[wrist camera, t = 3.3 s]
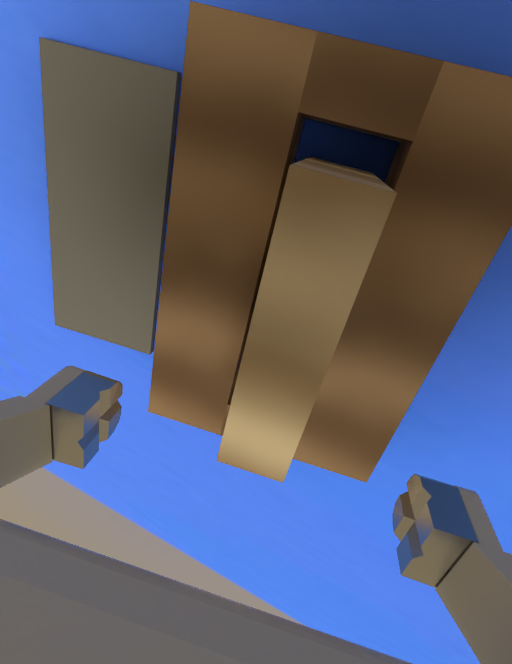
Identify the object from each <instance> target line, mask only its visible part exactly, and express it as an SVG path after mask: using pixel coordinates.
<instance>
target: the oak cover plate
mask: <svg viewBox="0 0 512 664" xmlns="http://www.w3.org/2000/svg"><path fill="white" fill-rule="evenodd" d="M396 195H397V193H396V192H395V191H394V190H392V189H391V188H390V187H389V186H388V185H386V184H385V183H384V182H383V181H381V180H380V179H379V178H378V177H377V176H375V175H374V174H373V173H372V172H368V171H365V170H361V169H357V168H353V167H349V166H345V165H342V164H338V163H334V162H330V161H326V160H323V159H319V158H315V157H309V158H306V159H304V160H301V161H298V162H296V163H293V164H290V166H289V170H288V174H287V178H286V182H285V186H284V190H283V194H282V198H281V202H280V206H279V210H278V214H277V218H276V222H275V226H274V230H273V234H272V238H271V243H270V247H269V251H268V255H267V259H266V263H265V267H264V271H263V275H262V279H261V283H260V287H259V291H258V295H257V299H256V303H255V307H254V311H253V315H252V319H251V324H250V328H249V332H248V336H247V340H246V344H245V348H244V352H243V356H242V360H241V364H240V368H239V372H238V376H237V380H236V384H235V388H234V392H233V396H232V401H231V405H230V409H229V413H228V417H227V421H226V425H225V429H224V433H223V437H222V441H221V445H220V449H219V453H218V457H217V461H219V462H222V463H225V464H228V465H231V466H234V467H237V468H240V469H243V470H246V471H249V472H252V473H255V474H258V475H261V476H264V477H267V478H270V479H273V480H277V481H280V482H284V479H285V477H286V474H287V471H288V469H289V466H290V464H291V461H292V459H293V456H294V454H295V451H296V449H297V446H298V443H299V441H300V438H301V436H302V433H303V431H304V428H305V426H306V423H307V421H308V418H309V416H310V413H311V410H312V408H313V405H314V403H315V400H316V398H317V395H318V393H319V390H320V388H321V385H322V383H323V380H324V377H325V375H326V372H327V370H328V367H329V365H330V362H331V360H332V357H333V355H334V352H335V350H336V347H337V344H338V342H339V339H340V337H341V334H342V332H343V329H344V327H345V324H346V322H347V319H348V317H349V314H350V311H351V309H352V306H353V304H354V301H355V299H356V296H357V294H358V291H359V289H360V286H361V284H362V281H363V278H364V276H365V273H366V271H367V268H368V266H369V263H370V261H371V258H372V256H373V253H374V250H375V248H376V245H377V243H378V240H379V238H380V235H381V233H382V230H383V228H384V225H385V223H386V220H387V217H388V215H389V212H390V210H391V207H392V205H393V202H394V200H395V197H396Z"/></svg>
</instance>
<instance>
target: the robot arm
mask: <svg viewBox="0 0 512 664" xmlns="http://www.w3.org/2000/svg"><path fill="white" fill-rule="evenodd" d="M121 395H122V384H121V383H120V382H119V381H116V380H113V379H110V378H107V377H104V376H101V375H98V374H96V373H93V372H90V371H85V370H83V369H80V368H77V367H74V366H67V367H65V368H63V369H62V370H61V371H59V372H58V373H57V374H55V375H54V376H53V377H51V378H50V379H49V380H48V381H46V382H45V383H44V384H42V385H41V386H40V387H38V388H37V389H36V390H34V391H33V392H32V393H30V394H29V395H28V396H26V397H22V396H17V397H14V398H10V399H6V400H2V401H0V488H1V487H3V486H5V485H7V484H9V483H11V482H13V481H15V480H17V479H19V478H21V477H23V476H25V475H27V474H29V473H31V472H33V471H35V470H36V469H39V468H41V467H43V466H45V465H47V464H49V463H51V462H52V460H55V461H58V462H62V463H65V464H68V465H72V466H75V467H78V468H82V469H84V468H85V467H86V465H87V464H88V463H89V462H90V460H91V459H92V458H93V457H94V456H95V454H96V453H97V452H98V451H99V442H102V441H104V440H107V439H108V438H109V437H110V436H111V435H112V433H113V432H114V430H115V428H116V426H117V424H118V422H119V419H120V415H121V405H120V404H119V402H118V400H117V399H118V398H119V397H120V396H121ZM407 488H408V492H406V493H404V494H401V495H400V496H399V498H398V499H397V501H396V503H395V506H394V511H393V530H394V533H395V534H396V536H397V537H398V538H399V540H400V541H401V542H400V544H399V546H398V547H397V555H398V560H399V566H400V572H401V575H402V576H405V577H408V578H410V579H413V580H416V581H419V582H421V583H424V584H427V585H430V586H432V587H435V588H436V589H435V590H436V591H437V593H438V595H439V596H440V598H441V600H442V601H443V603H444V604H445V606H446V608H447V609H448V611H449V613H450V614H451V616H452V618H453V619H454V621H455V622H456V624H457V626H458V627H459V629H460V631H461V632H462V634H463V636H464V637H465V639H466V640H467V642H468V644H469V645H470V647H471V649H472V650H473V652H474V653H475V655H476V657H477V658H478V660H479V662H480V663H481V664H512V555H511V554H509V553H506V552H503V550H502V547H501V545H500V543H499V541H498V538H497V536H496V534H495V531H494V529H493V527H492V525H491V522H490V520H489V518H488V515H487V513H486V511H485V509H484V506H483V504H482V502H481V499H480V497H479V495H478V494H477V493H476V492H475V491H472V490H468V489H465V488H462V487H458V486H453V485H450V484H447V483H443V482H440V481H437V480H434V479H430V478H427V477H424V476H420V475H417V474H414V475H413V476H411V477H410V479H409V481H408V482H407ZM0 664H412V663H409V662H406V661H404V660H401V659H398V658H395V657H392V656H389V655H387V654H384V653H381V652H378V651H375V650H372V649H369V648H367V647H364V646H361V645H358V644H355V643H352V642H349V641H347V640H344V639H341V638H338V637H335V636H332V635H329V634H327V633H324V632H321V631H318V630H315V629H312V628H309V627H307V626H304V625H301V624H298V623H295V622H292V621H289V620H287V619H284V618H281V617H278V616H275V615H272V614H269V613H267V612H264V611H261V610H258V609H255V608H252V607H249V606H247V605H244V604H241V603H238V602H235V601H232V600H229V599H227V598H224V597H221V596H218V595H215V594H212V593H210V592H207V591H204V590H201V589H198V588H195V587H193V586H190V585H187V584H184V583H181V582H178V581H176V580H173V579H170V578H167V577H164V576H161V575H159V574H156V573H153V572H150V571H147V570H144V569H141V568H139V567H135V566H133V565H130V564H127V563H124V562H121V561H119V560H116V559H113V558H110V557H107V556H105V555H102V554H99V553H96V552H93V551H90V550H87V549H84V548H82V547H79V546H76V545H73V544H70V543H67V542H65V541H62V540H59V539H56V538H53V537H50V536H48V535H45V534H42V533H39V532H36V531H33V530H31V529H28V528H24V527H22V526H19V525H16V524H13V523H11V522H8V521H5V520H2V519H0Z"/></svg>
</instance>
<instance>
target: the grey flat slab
mask: <svg viewBox="0 0 512 664" xmlns="http://www.w3.org/2000/svg"><path fill="white" fill-rule="evenodd" d="M39 41H40V59H41V78H42V96H43V114H44V132H45V150H46V169H47V187H48V205H49V223H50V241H51V259H52V278H53V296H54V314H55V325H57V326H60V327H63V328H67V329H70V330H73V331H76V332H79V333H83V334H86V335H89V336H92V337H95V338H99V339H102V340H105V341H108V342H111V343H115V344H118V345H121V346H124V347H127V348H131V349H134V350H137V351H140V352H143V353H147V354H151V353H152V352H153V350H154V340H155V330H156V320H157V310H158V300H159V290H160V280H161V270H162V260H163V251H164V241H165V231H166V221H167V211H168V201H169V191H170V181H171V171H172V162H173V152H174V142H175V132H176V122H177V112H178V102H179V92H180V82H181V73H179V72H176V71H172V70H168V69H164V68H160V67H156V66H152V65H148V64H144V63H140V62H136V61H132V60H128V59H124V58H120V57H116V56H112V55H108V54H104V53H100V52H96V51H92V50H88V49H84V48H80V47H77V46H73V45H69V44H65V43H61V42H57V41H53V40H49V39H45V38H41V37H39Z"/></svg>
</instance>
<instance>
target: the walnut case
mask: <svg viewBox="0 0 512 664" xmlns="http://www.w3.org/2000/svg"><path fill="white" fill-rule="evenodd" d="M305 118H307V119H311V120H315V121H319V122H323V123H327V124H331V125H335V126H339V127H343V128H346V129H350V130H354V131H358V132H362V133H366V134H370V135H374V136H378V137H382V138H386V139H390V140H394V141H397V142H400V143H399V145H398V148H397V151H396V153H395V156H394V159H393V161H392V164H391V167H390V169H389V172H388V175H387V177H386V180H385V184H386V185H388V186H389V187H390V188H391V189H392V190H394V191H395V192H396V193H397V195H396V197H395V200H394V202H393V205H392V207H391V210H390V212H389V215H388V217H387V220H386V223H385V225H384V228H383V230H382V233H381V235H380V238H379V240H378V243H377V245H376V248H375V250H374V253H373V256H372V258H371V261H370V263H369V266H368V268H367V271H366V273H365V276H364V278H363V281H362V284H361V286H360V289H359V291H358V294H357V296H356V299H355V301H354V304H353V306H352V309H351V311H350V314H349V317H348V319H347V322H346V324H345V327H344V329H343V332H342V334H341V337H340V339H339V342H338V344H337V347H336V350H335V352H334V355H333V357H332V360H331V362H330V365H329V367H328V370H327V372H326V375H325V377H324V380H323V383H322V385H321V388H320V390H319V393H318V395H317V398H316V400H315V403H314V405H313V408H312V410H311V413H310V416H309V418H308V421H307V423H306V426H305V428H304V431H303V433H302V436H301V438H300V441H299V443H298V446H297V449H296V451H295V454H294V456H293V459H296V460H299V461H302V462H305V463H308V464H311V465H314V466H317V467H320V468H323V469H326V470H329V471H333V472H336V473H339V474H342V475H345V476H348V477H351V478H354V479H357V480H360V481H363V482H367V481H368V479H369V477H370V475H371V473H372V472H373V470H374V468H375V466H376V465H377V463H378V461H379V459H380V457H381V456H382V454H383V452H384V450H385V449H386V447H387V445H388V443H389V442H390V440H391V438H392V436H393V434H394V433H395V431H396V429H397V427H398V426H399V424H400V422H401V420H402V418H403V417H404V415H405V413H406V411H407V410H408V408H409V406H410V404H411V403H412V401H413V399H414V397H415V395H416V394H417V392H418V390H419V388H420V387H421V385H422V383H423V381H424V380H425V378H426V376H427V374H428V372H429V371H430V369H431V367H432V365H433V364H434V362H435V360H436V358H437V356H438V355H439V353H440V351H441V349H442V348H443V346H444V344H445V342H446V341H447V339H448V337H449V335H450V333H451V332H452V330H453V328H454V326H455V325H456V323H457V321H458V319H459V317H460V316H461V314H462V312H463V310H464V309H465V307H466V305H467V303H468V302H469V300H470V298H471V296H472V294H473V293H474V291H475V289H476V287H477V286H478V284H479V282H480V280H481V278H482V277H483V275H484V273H485V271H486V270H487V268H488V266H489V264H490V263H491V261H492V259H493V257H494V255H495V254H496V252H497V250H498V248H499V247H500V245H501V243H502V241H503V239H504V238H505V236H506V234H507V232H508V231H509V229H510V227H511V225H512V77H510V76H505V75H501V74H497V73H493V72H488V71H484V70H480V69H476V68H472V67H467V66H463V65H459V64H455V63H450V62H446V61H442V60H438V59H433V58H429V57H425V56H421V55H417V54H412V53H408V52H404V51H400V50H395V49H391V48H387V47H383V46H379V45H374V44H370V43H366V42H362V41H357V40H353V39H349V38H345V37H340V36H336V35H332V34H328V33H324V32H319V31H315V30H311V29H307V28H302V27H298V26H294V25H290V24H285V23H281V22H277V21H273V20H269V19H264V18H260V17H256V16H252V15H247V14H243V13H239V12H235V11H231V10H226V9H222V8H218V7H214V6H209V5H205V4H201V3H197V2H192V1H190V10H189V20H188V29H187V39H186V49H185V59H184V68H183V78H182V88H181V97H180V107H179V117H178V127H177V136H176V146H175V156H174V166H173V175H172V185H171V195H170V204H169V214H168V224H167V234H166V243H165V253H164V263H163V272H162V282H161V292H160V302H159V311H158V321H157V331H156V341H155V350H154V360H153V370H152V379H151V389H150V399H149V409H148V412H151V413H154V414H157V415H160V416H163V417H166V418H169V419H172V420H176V421H179V422H182V423H185V424H188V425H191V426H194V427H197V428H200V429H203V430H206V431H209V432H212V433H216V434H219V435H222V436H223V433H224V429H225V425H226V421H227V417H228V413H229V409H230V405H231V401H232V396H233V392H234V388H235V384H236V380H237V376H238V372H239V368H240V364H241V360H242V356H243V352H244V348H245V344H246V340H247V336H248V332H249V328H250V324H251V319H252V315H253V311H254V307H255V303H256V299H257V295H258V291H259V287H260V283H261V279H262V275H263V271H264V267H265V263H266V259H267V255H268V251H269V247H270V243H271V238H272V234H273V230H274V226H275V222H276V218H277V214H278V210H279V206H280V202H281V198H282V194H283V190H284V186H285V182H286V178H287V174H288V170H289V166H290V164H293V163H294V161H295V157H296V153H297V149H298V145H299V141H300V137H301V133H302V129H303V125H304V122H305Z"/></svg>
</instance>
